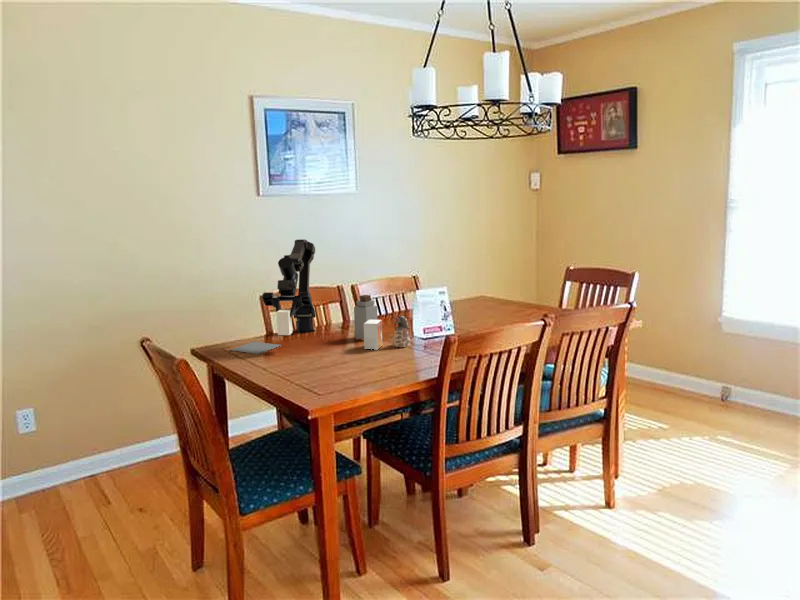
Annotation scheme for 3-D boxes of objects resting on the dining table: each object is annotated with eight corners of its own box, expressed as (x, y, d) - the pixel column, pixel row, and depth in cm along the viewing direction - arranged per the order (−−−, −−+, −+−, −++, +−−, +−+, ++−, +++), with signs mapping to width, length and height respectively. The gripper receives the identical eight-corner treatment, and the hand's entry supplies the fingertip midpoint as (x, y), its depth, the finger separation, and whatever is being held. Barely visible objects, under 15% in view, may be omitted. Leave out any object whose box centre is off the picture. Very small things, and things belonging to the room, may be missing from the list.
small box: (378, 350, 242) (377, 323, 240) (364, 350, 243) (363, 323, 242) (383, 345, 250) (382, 319, 248) (369, 345, 251) (368, 319, 249)
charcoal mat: (253, 342, 259) (253, 341, 259) (281, 346, 253) (281, 344, 253) (229, 350, 247) (229, 349, 247) (258, 354, 241) (258, 353, 241)
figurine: (412, 347, 246) (412, 317, 244) (394, 348, 245) (394, 318, 243) (408, 343, 253) (408, 313, 251) (391, 344, 252) (390, 314, 250)
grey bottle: (378, 337, 263) (376, 295, 260) (367, 341, 258) (365, 297, 255) (366, 335, 267) (364, 293, 264) (355, 338, 262) (353, 296, 259)
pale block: (280, 332, 246) (279, 309, 244) (292, 332, 246) (291, 309, 244) (277, 335, 242) (276, 312, 240) (289, 335, 241) (288, 311, 240)
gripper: (261, 272, 246) (254, 305, 237) (309, 271, 244) (304, 304, 235) (268, 288, 255) (262, 321, 246) (314, 288, 253) (309, 321, 244)
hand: (284, 316), depth 243 cm, fingers closed on pale block, 4 cm apart
